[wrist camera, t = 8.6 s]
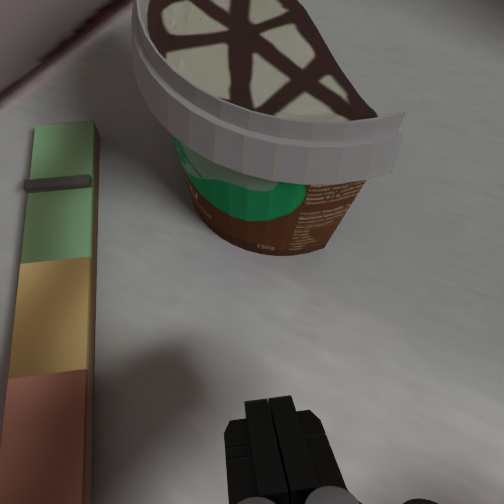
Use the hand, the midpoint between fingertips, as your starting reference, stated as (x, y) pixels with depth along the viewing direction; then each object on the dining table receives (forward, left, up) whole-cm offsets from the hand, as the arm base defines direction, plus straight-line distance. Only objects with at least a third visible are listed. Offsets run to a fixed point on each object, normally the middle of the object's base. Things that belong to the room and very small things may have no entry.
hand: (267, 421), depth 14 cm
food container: (0, -11, -4) cm, 12 cm away
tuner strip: (+8, -4, -4) cm, 10 cm away
